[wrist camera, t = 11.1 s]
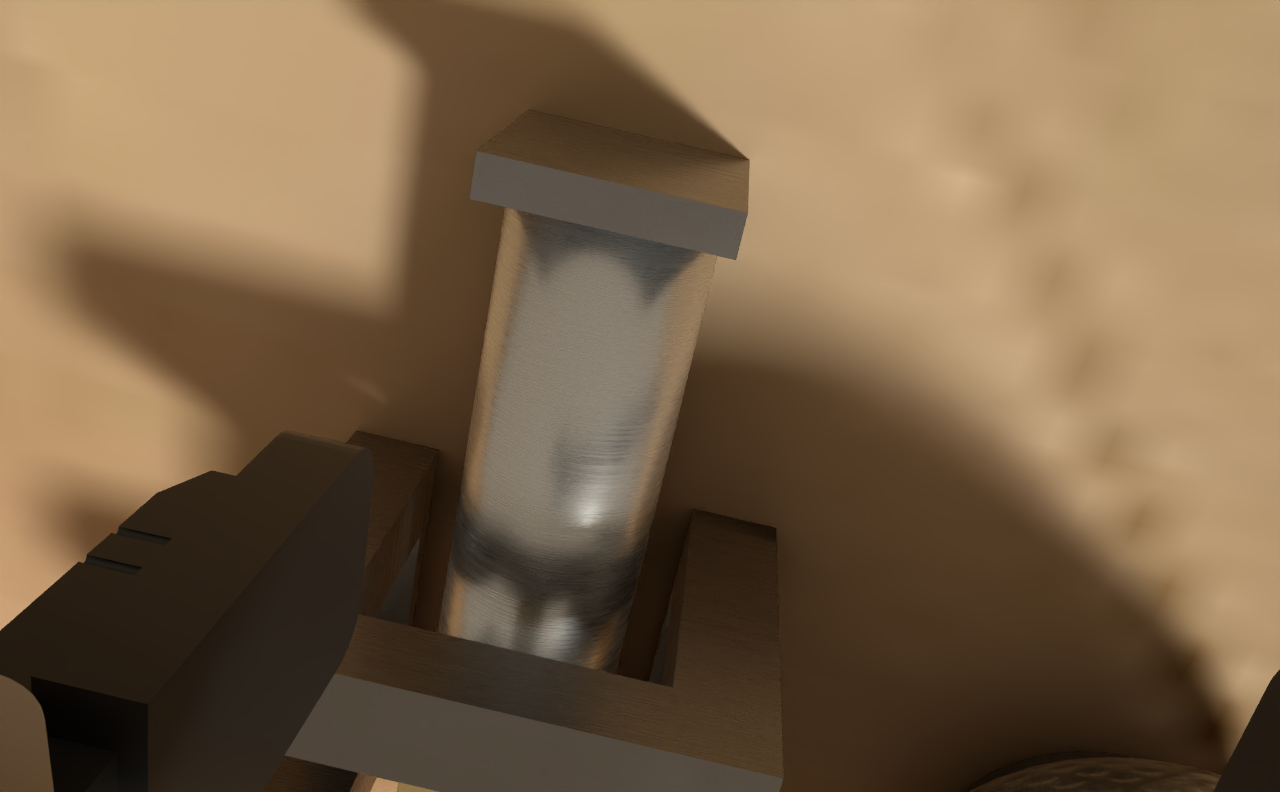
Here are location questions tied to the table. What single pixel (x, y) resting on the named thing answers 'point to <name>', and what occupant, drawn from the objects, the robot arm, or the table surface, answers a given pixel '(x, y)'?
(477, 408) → the tube
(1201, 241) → the table surface
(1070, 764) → the planter
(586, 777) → the hollow square frame
